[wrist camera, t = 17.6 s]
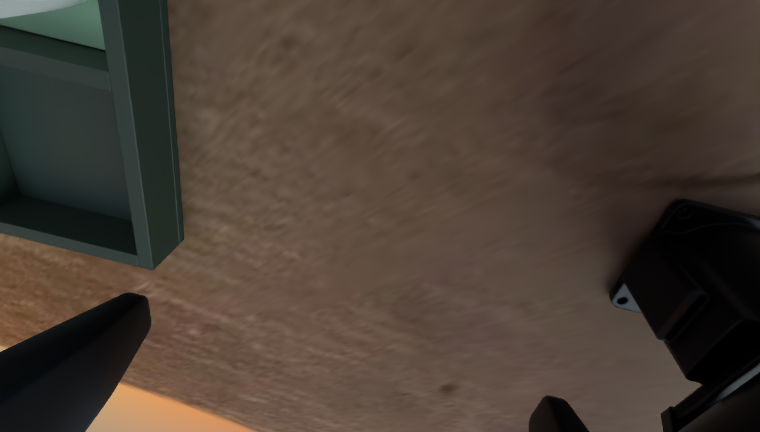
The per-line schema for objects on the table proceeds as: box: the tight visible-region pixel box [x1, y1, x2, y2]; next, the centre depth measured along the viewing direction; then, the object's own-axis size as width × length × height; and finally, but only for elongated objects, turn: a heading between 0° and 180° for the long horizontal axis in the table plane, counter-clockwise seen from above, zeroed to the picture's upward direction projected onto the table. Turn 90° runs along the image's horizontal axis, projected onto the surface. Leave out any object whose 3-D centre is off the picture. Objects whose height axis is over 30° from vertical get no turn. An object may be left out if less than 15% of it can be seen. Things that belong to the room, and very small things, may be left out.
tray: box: [0, 0, 184, 270], centre depth 17 cm, size 10×19×3 cm, turn 169°
